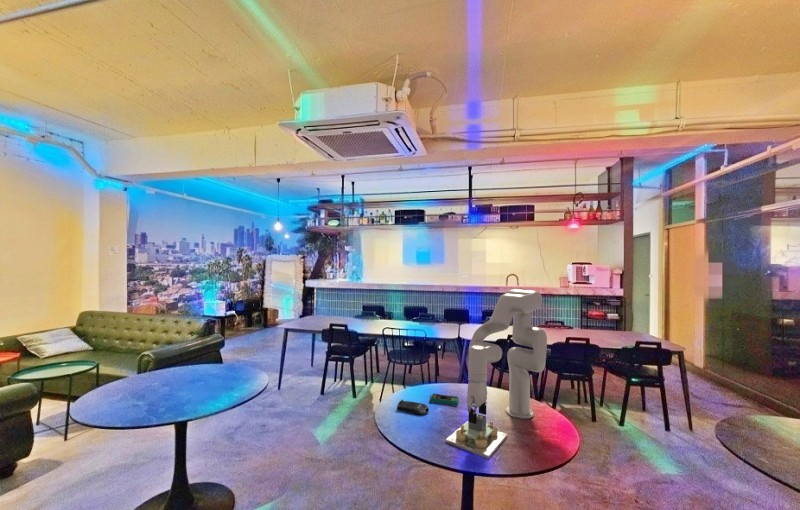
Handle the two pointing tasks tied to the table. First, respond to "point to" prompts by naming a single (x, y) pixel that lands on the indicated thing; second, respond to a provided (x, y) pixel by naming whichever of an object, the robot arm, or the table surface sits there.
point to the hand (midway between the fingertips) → (477, 418)
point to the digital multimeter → (444, 399)
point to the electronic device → (412, 407)
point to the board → (475, 433)
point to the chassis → (478, 441)
